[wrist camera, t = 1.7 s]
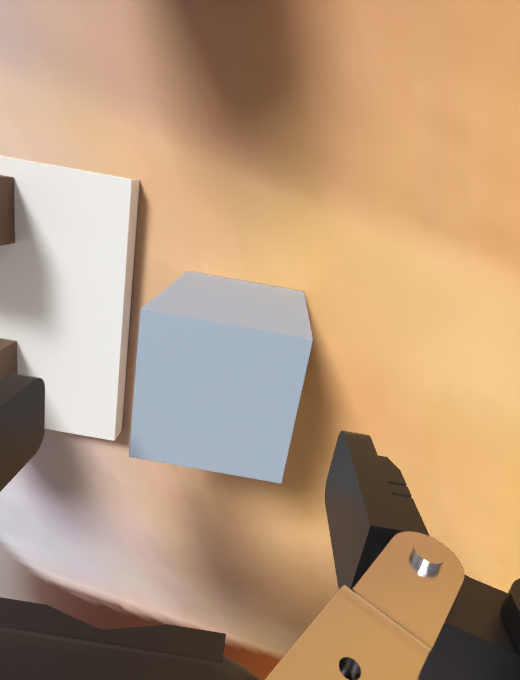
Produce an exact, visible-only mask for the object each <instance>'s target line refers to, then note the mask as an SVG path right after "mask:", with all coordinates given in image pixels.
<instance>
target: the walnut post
mask: <svg viewBox="0 0 520 680" xmlns="http://www.w3.org/2000/svg"><path fill="white" fill-rule="evenodd" d="M11 373H15V374H17V341H14V340H8V339H2V338H0V380H1V379H3V378H4V377H6V376H7V375H9V374H11Z"/></svg>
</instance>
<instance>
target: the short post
mask: <svg viewBox="0 0 520 680" xmlns="http://www.w3.org/2000/svg"><path fill="white" fill-rule="evenodd" d="M12 243H15V209H14V177H9V176H4V175H0V246H2V245H7V244H12Z"/></svg>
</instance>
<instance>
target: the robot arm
mask: <svg viewBox="0 0 520 680" xmlns="http://www.w3.org/2000/svg"><path fill="white" fill-rule="evenodd" d="M44 427H45V383H44V381H43V379H42V378H38V377H32V376H26V375H20V374H15V373H11V374H9V375H7V376H6V377H4V378H3V379H1V380H0V491H1V490H2V489H3V488H4V487H5V486H6V485H7V484H8V483H9V482H10V481H11V480H12V479H13V477H14V476H15V475H16V474H17V473H18V472H19V471H20V470H21V469H22V468H23V467H24V466H25V464H26V463H27V462H28V461H29V460H30V459H31V458H32V457H33V456H34V455H35V454H36V452H37V451H38V449H39V447H40V445H41V443H42V440H43V436H44ZM325 505H326V511H327V518H328V524H329V530H330V537H331V543H332V549H333V556H334V562H335V568H336V575H337V581H338V587H339V590H338V591H337V593H336V594H335V595H334V596H333V597H332V599H331V600H330V601H329V602H328V604H327V605H326V606H325V607H324V608H323V610H322V611H321V612H320V613H319V614H318V616H317V617H316V618H315V619H314V621H313V622H312V623H311V624H310V625H309V627H308V628H307V629H306V630H305V631H304V633H303V634H302V635H301V636H300V638H299V639H298V640H297V641H296V642H295V644H294V645H293V646H292V647H291V648H290V650H289V651H288V652H287V653H286V654H285V656H284V657H283V658H282V659H281V661H280V662H279V663H278V664H277V665H276V667H275V668H274V669H273V670H272V671H271V673H270V674H269V675H268V676H267V678H266V679H265V680H520V579H518V580H516V581H515V582H514V583H513V584H512V586H511V588H510V590H509V593H505V592H503V591H501V590H498V589H496V588H493V587H491V586H489V585H486V584H484V583H481V582H479V581H476V580H474V579H472V578H470V577H468V576H466V575H465V574H464V570H463V567H462V565H461V562H460V561H459V559H458V558H457V557H456V555H455V554H454V553H453V552H452V551H451V550H450V549H449V548H448V547H446V546H445V545H444V544H442V543H441V542H439V541H438V540H436V539H434V538H432V537H430V536H429V534H428V532H427V529H426V527H425V525H424V523H423V520H422V518H421V516H420V514H419V511H418V509H417V507H416V505H415V503H414V500H413V499H411V494H410V491H409V489H408V487H406V482H405V480H404V478H403V476H402V473H401V471H400V470H399V469H398V468H397V467H396V466H395V465H394V464H393V463H392V462H391V461H390V460H389V459H388V458H387V457H383V456H378V455H377V452H376V450H375V447H374V445H373V442H372V440H371V437H370V436H369V435H364V434H358V433H352V432H347V431H341V432H340V434H339V436H338V440H337V443H336V447H335V451H334V455H333V458H332V462H331V466H330V470H329V473H328V477H327V482H326V488H325ZM225 637H226V634H224V633H218V632H211V631H205V630H199V629H193V628H187V627H180V626H174V625H156V626H145V627H134V628H123V629H111V630H102V629H98V628H95V627H93V626H91V625H88V624H87V623H84V622H82V621H80V620H78V619H76V618H73V617H72V616H69V615H67V614H65V613H63V612H60V611H59V610H57V609H54V608H52V607H50V606H48V605H44V604H38V603H31V602H25V601H18V600H12V599H6V598H0V680H260V679H259V678H258V677H257V676H255V675H254V674H253V673H252V672H251V671H249V670H248V669H247V668H246V667H244V666H242V665H241V664H239V663H238V662H236V661H235V660H233V659H230V658H228V657H226V656H224V655H223V654H224V645H225Z"/></svg>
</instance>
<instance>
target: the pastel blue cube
mask: <svg viewBox="0 0 520 680" xmlns="http://www.w3.org/2000/svg"><path fill="white" fill-rule="evenodd" d="M312 342H313V337H312V331H311V326H310V321H309V315H308V310H307V305H306V299H305V294H304V291H299V290H293V289H287V288H282V287H276V286H270V285H265V284H259V283H253V282H248V281H242V280H236V279H231V278H225V277H219V276H214V275H208V274H203V273H197V272H191V271H187V272H186V273H184V274H183V275H182V276H181V277H179V278H178V279H177V280H176V281H174V282H173V283H172V284H171V285H170V286H168V287H167V288H166V289H165V290H163V291H162V292H161V293H160V294H158V295H157V296H156V297H155V298H153V299H152V300H151V301H150V302H148V303H147V304H146V305H145V306H144V307H142V308H141V309H140V322H139V334H138V347H137V360H136V372H135V385H134V397H133V410H132V423H131V435H130V448H129V457H133V458H139V459H144V460H150V461H156V462H161V463H167V464H173V465H179V466H184V467H190V468H196V469H201V470H207V471H213V472H218V473H224V474H230V475H235V476H241V477H247V478H252V479H258V480H264V481H269V482H275V483H282V478H283V474H284V469H285V465H286V460H287V456H288V451H289V446H290V442H291V437H292V433H293V428H294V424H295V419H296V415H297V410H298V406H299V401H300V396H301V392H302V387H303V383H304V378H305V374H306V369H307V365H308V360H309V356H310V351H311V346H312Z"/></svg>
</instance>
